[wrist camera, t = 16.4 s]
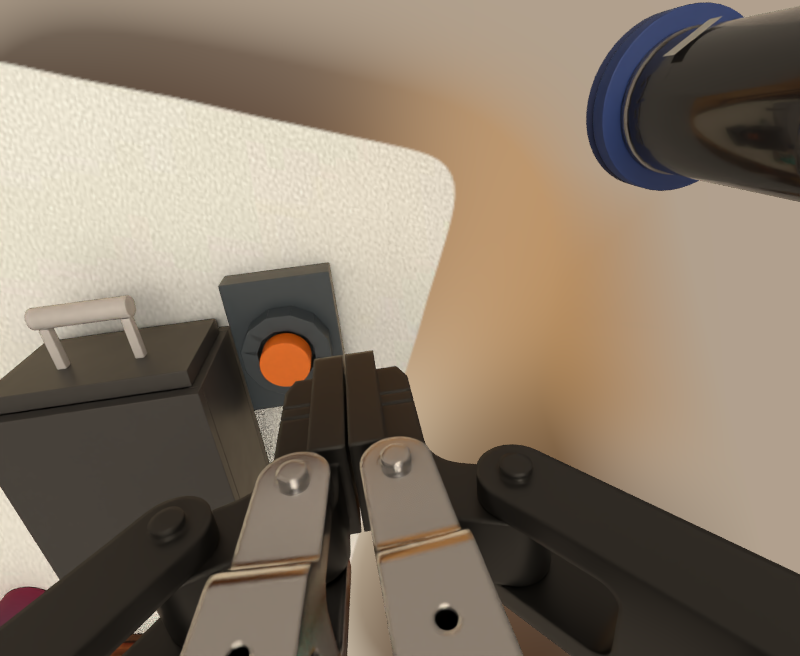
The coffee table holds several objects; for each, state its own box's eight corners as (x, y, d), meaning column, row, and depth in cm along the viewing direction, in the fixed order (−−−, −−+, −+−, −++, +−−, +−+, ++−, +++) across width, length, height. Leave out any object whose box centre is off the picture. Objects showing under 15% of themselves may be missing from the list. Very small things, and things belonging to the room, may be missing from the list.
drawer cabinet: (51, 350, 37) (-38, 428, 28) (229, 325, 38) (198, 393, 29) (119, 490, 43) (65, 588, 34) (270, 466, 44) (254, 555, 35)
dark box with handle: (19, 288, 33) (-65, 337, 26) (199, 264, 34) (164, 307, 27) (112, 477, 41) (66, 554, 34) (256, 454, 42) (240, 525, 35)
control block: (224, 276, 36) (212, 295, 32) (329, 262, 36) (328, 279, 33) (257, 395, 41) (250, 424, 37) (349, 381, 41) (351, 408, 38)
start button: (257, 336, 34) (254, 347, 33) (306, 329, 35) (305, 340, 33) (268, 377, 36) (265, 390, 34) (315, 370, 36) (314, 383, 35)
